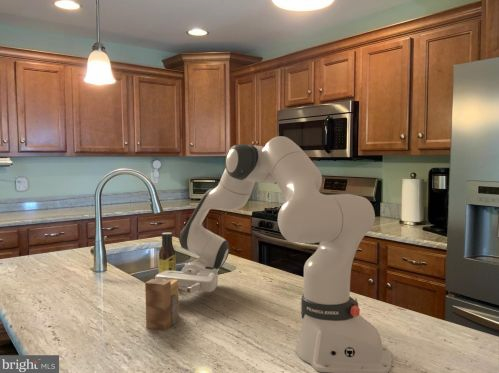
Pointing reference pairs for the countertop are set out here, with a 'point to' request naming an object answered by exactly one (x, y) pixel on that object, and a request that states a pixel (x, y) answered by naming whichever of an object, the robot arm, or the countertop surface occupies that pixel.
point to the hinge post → (160, 304)
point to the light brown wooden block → (174, 291)
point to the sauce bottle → (167, 254)
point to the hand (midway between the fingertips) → (175, 288)
